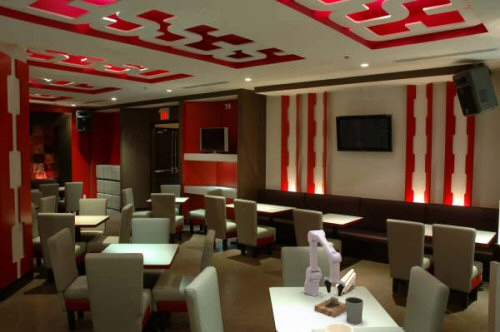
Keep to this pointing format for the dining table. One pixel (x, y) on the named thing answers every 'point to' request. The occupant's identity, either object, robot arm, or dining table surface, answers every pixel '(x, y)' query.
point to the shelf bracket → (348, 281)
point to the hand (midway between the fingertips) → (334, 294)
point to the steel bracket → (333, 302)
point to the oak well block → (330, 312)
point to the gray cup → (354, 309)
